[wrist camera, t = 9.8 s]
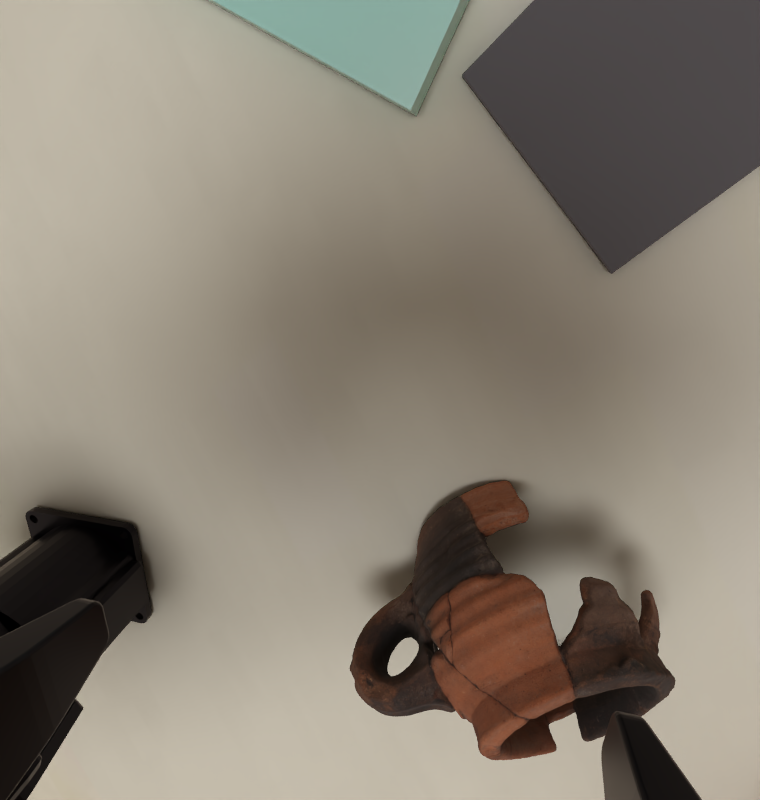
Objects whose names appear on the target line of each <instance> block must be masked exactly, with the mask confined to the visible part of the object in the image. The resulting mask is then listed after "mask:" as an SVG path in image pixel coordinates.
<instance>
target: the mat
mask: <svg viewBox="0 0 760 800" xmlns="http://www.w3.org/2000/svg"><path fill="white" fill-rule="evenodd" d="M462 77H463V79H464V80H465V81H466V83H467V84H468V85H469V87H470V88H471V89H472V91H473V92H474V93H475V95H476V96H477V97H478V99H479V100H480V101H481V102H482V104H483V105H484V106H485V108H486V109H487V110H488V112H489V113H490V114H491V116H492V117H493V118H494V120H495V121H496V122H497V124H498V125H499V126H500V128H501V129H502V130H503V132H504V133H505V134H506V136H507V137H508V138H509V140H510V141H511V142H512V144H513V145H514V146H515V148H516V149H517V150H518V152H519V153H520V154H521V156H522V157H523V158H524V159H525V161H526V162H527V163H528V165H529V166H530V167H531V169H532V170H533V171H534V173H535V174H536V175H537V177H538V178H539V179H540V181H541V182H542V183H543V185H544V186H545V187H546V189H547V190H548V191H549V193H550V194H551V195H552V197H553V198H554V199H555V201H556V202H557V203H558V205H559V206H560V207H561V209H562V210H563V211H564V213H565V214H566V215H567V216H568V218H569V219H570V220H571V222H572V223H573V224H574V226H575V227H576V228H577V230H578V231H579V232H580V234H581V235H582V236H583V238H584V239H585V240H586V242H587V243H588V244H589V246H590V247H591V248H592V250H593V251H594V252H595V254H596V255H597V256H598V258H599V259H600V260H601V262H602V263H603V264H604V266H605V267H606V268H607V269H608V271H609V272H610V273H613V272H615V271H616V270H617V269H619V268H620V267H621V266H623V265H624V264H626V263H627V262H628V261H630V260H631V259H632V258H634V257H635V256H637V255H638V254H639V253H641V252H642V251H643V250H645V249H646V248H648V247H649V246H650V245H652V244H653V243H654V242H656V241H657V240H659V239H660V238H661V237H663V236H664V235H665V234H667V233H668V232H669V231H671V230H672V229H674V228H675V227H676V226H678V225H679V224H680V223H682V222H683V221H685V220H686V219H687V218H689V217H690V216H691V215H693V214H694V213H696V212H697V211H698V210H700V209H701V208H702V207H704V206H705V205H707V204H708V203H709V202H711V201H712V200H713V199H715V198H716V197H718V196H719V195H720V194H722V193H723V192H724V191H726V190H727V189H729V188H730V187H731V186H733V185H734V184H735V183H737V182H738V181H739V180H741V179H742V178H744V177H745V176H746V175H748V174H749V173H750V172H752V171H753V170H755V169H756V168H757V167H759V166H760V0H534V1H533V2H532V3H531V4H530V5H529V6H528V7H527V8H526V9H525V10H524V11H523V12H522V13H521V14H520V15H519V17H518V18H517V19H516V20H515V21H514V22H513V23H512V24H511V25H510V26H509V27H508V28H507V29H506V30H505V31H504V32H503V33H502V34H501V35H500V36H499V37H498V38H497V39H496V40H495V41H494V42H493V43H492V44H491V45H490V46H489V48H488V49H487V50H486V51H485V52H484V53H483V54H482V55H481V56H480V57H479V58H478V59H477V60H476V61H475V62H474V63H473V64H472V65H471V66H470V67H469V68H468V69H467V70H466V71H465V72H464V73H463V74H462Z"/></svg>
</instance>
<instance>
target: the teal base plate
mask: <svg viewBox="0 0 760 800" xmlns="http://www.w3.org/2000/svg"><path fill="white" fill-rule="evenodd" d="M208 1H210V2H212V3H213V4H215V5H217V6H219V7H221V8H222V9H224V10H226V11H228V12H230V13H231V14H233V15H235V16H237V17H239V18H240V19H242V20H244V21H246V22H248V23H249V24H251V25H253V26H255V27H257V28H258V29H260V30H262V31H264V32H266V33H267V34H269V35H271V36H273V37H275V38H276V39H278V40H280V41H282V42H284V43H285V44H287V45H289V46H291V47H293V48H294V49H296V50H298V51H300V52H302V53H303V54H305V55H307V56H309V57H311V58H312V59H314V60H316V61H318V62H320V63H321V64H323V65H325V66H327V67H329V68H330V69H332V70H334V71H336V72H338V73H339V74H341V75H343V76H345V77H347V78H348V79H350V80H352V81H354V82H356V83H357V84H359V85H361V86H363V87H365V88H366V89H368V90H370V91H372V92H374V93H375V94H377V95H379V96H381V97H383V98H384V99H386V100H388V101H390V102H392V103H393V104H395V105H397V106H399V107H401V108H402V109H404V110H406V111H408V112H410V113H411V114H413V115H415V116H417V114H418V111H419V109H420V107H421V105H422V103H423V101H424V98H425V96H426V94H427V92H428V90H429V87H430V85H431V83H432V81H433V79H434V77H435V74H436V72H437V70H438V68H439V66H440V63H441V61H442V59H443V57H444V55H445V53H446V50H447V48H448V46H449V44H450V42H451V39H452V37H453V35H454V33H455V31H456V28H457V26H458V24H459V22H460V20H461V18H462V15H463V13H464V11H465V9H466V7H467V4H468V2H469V0H208Z"/></svg>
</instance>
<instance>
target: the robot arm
mask: <svg viewBox="0 0 760 800" xmlns="http://www.w3.org/2000/svg"><path fill="white" fill-rule="evenodd" d="M26 520H27V524H28V527H29V531H30V534H31V538H30V539H29V540H27V541H26V542H25V543H23V544H22V545H20V546H19V547H18V548H16V549H15V550H14V551H12V552H11V553H9V554H8V555H7V556H5V557H4V558H3V559H1V560H0V800H27V798H28V797H29V795H30V794H31V792H32V791H33V789H34V788H35V786H36V784H37V783H38V781H39V780H40V778H41V776H42V775H43V773H44V771H45V770H46V768H47V767H48V765H49V763H50V762H51V760H52V758H53V757H54V755H55V754H56V752H57V750H58V749H59V747H60V745H61V744H62V742H63V741H64V739H65V737H66V736H67V734H68V733H69V731H70V729H71V728H72V726H73V724H74V723H75V721H76V720H77V718H78V716H79V715H80V713H81V711H82V710H83V706H82V705H81V704H80V703H79V702H78V701H77V700H76V699H75V698H76V696H77V695H78V693H79V691H80V690H81V688H82V686H83V685H84V683H85V681H86V680H87V678H88V676H89V675H90V673H91V671H92V670H93V668H94V666H95V665H96V663H97V661H98V660H99V658H100V656H101V655H102V653H103V652H104V651H105V650H106V649H107V647H108V646H109V645H110V644H111V643H112V642H113V641H114V639H115V638H116V637H117V636H118V635H119V634H120V633H121V631H122V630H123V629H124V628H125V627H126V626H127V625H128V623H129V622H130V621H134V622H138V623H145V622H146V621H147V620H148V619H149V618H150V616H151V615H152V612H151V606H150V601H149V595H148V590H147V584H146V579H145V573H144V568H143V562H142V557H141V551H140V546H139V540H138V535H137V531H136V529H135V527H134V526H133V525H131V524H129V523H126V522H120V521H114V520H108V519H103V518H97V517H91V516H85V515H80V514H74V513H68V512H63V511H57V510H51V509H45V508H40V507H35V508H33V509H31V510H30V511H28V512H27V513H26ZM602 771H603V782H604V793H605V800H702V799H701V798H700V796H699V795H698V794H697V792H696V791H695V789H694V788H693V787H692V785H691V784H690V782H689V781H688V780H687V778H686V777H685V775H684V774H683V772H682V771H681V770H680V768H679V767H678V765H677V764H676V763H675V761H674V760H673V758H672V757H671V756H670V754H669V753H668V751H667V750H666V749H665V747H664V746H663V744H662V743H661V741H660V740H659V739H658V737H657V736H656V734H655V733H654V732H653V730H652V729H651V727H650V726H649V725H648V723H647V722H646V721H645V720H644V719H643V718H642V717H640V716H638V715H633V714H629V713H624V712H619V711H616V712H614V713H613V714H612V716H611V718H610V722H609V725H608V728H607V732H606V735H605V739H604V742H603V746H602Z"/></svg>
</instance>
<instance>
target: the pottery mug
mask: <svg viewBox="0 0 760 800" xmlns="http://www.w3.org/2000/svg"><path fill="white" fill-rule="evenodd" d="M528 517H529V513H528V510H527V507H526V506H525V504H524V502H523V501H522V500H520V499H519V497H518V495H517V493H516V491H515V490H514V488H513V487H512V485H511V483H510V482H509V481H499V482H493V483H488V484H486V485H483V486H480V487H476V488H474V489H472V490H471V491H469V492H466V493H464V494H463V495H461V496H459V497H456V498H454V499H453V500H451V501H450V502H448V503H447V504H446V505H444V506H442V507H440V508H439V509H437V511H436V512H435V513H434V514H433V515H432V516H431V517H430V518H429V519H428V520H427V521H426V523H425V524H424V525H423V527H422V529H421V532H420V536H419V539H418V545H417V557H416V562H415V569H414V577H413V580H412V583H410V584H409V585H408V587H407V588H406V590H405V591H404V592H403V593H402V594H401V595H400V596H399V597H397V598H396V599H394V600H392V601H391V602H389V603H388V604H387V605H385V606H384V607H383V608H381V609H380V610H379V611H378V612H377V613H376V614H375V615H374V616H373V617H372V618H371V619H370V620H369V621H368V623H367V624H366V625H365V627H364V628H363V630H362V632H361V634H360V635H359V638H358V640H357V642H356V645H355V648H354V652H353V656H352V657H353V659H352V662H351V665H350V671H351V672H352V675H353V677H354V679H355V688H356V691H357V693H358V694H359V696H360V697H361V698H362V699H363V700H364V701H365V702H366V703H367V704H368V705H369V706H371V707H372V708H374V709H375V710H376V711H378V712H380V713H382V714H384V715H388V716H408V715H413V714H416V713H419V712H423V711H427V710H433V709H437V710H443V711H447V712H454V711H457V713H458V714H459V715H460V717H461V718H462V719H467V720H468V721H469V722H471V723H472V724H473V727H474V730H475V733H476V736H477V740H478V748H479V751H480V753H481V754H482V755H483V756H486V757H487V758H489V759H491V760H512V759H521V758H527V757H531V756H537V755H542V754H547V753H551V752H554V751H556V744H555V742H554V740H553V738H552V735H551V733H550V729H549V724H550V723H552V722H554V721H557V720H560V719H563V718H565V717H566V716H569V715H571V714H572V713H574V712H576V714H577V719H578V725H579V728H580V732H581V736H582V739H583V740H584V741H592V740H595V739H597V738H600V737H603V736H605V735H606V732H607V728H608V725H609V722H610V718H611V716H612V714H613V713H614V712H616V711H619V712H624V713H629V714H633V715H638V716H640V717H641V716H642V715H644V714H645V713H647V712H648V711H649V710H650V709H652V708H653V707H654V706H656V704H658V703H659V702H661V701H662V700H663V699H664V698H665V697H667V696H668V695H669V693H670V691H671V690H672V689H673V688H674V685H675V678H674V677H673V676H672V674H671V673H670V671H669V670H668V669H666V667H665V666H664V664H663V662H662V661H661V659H660V658H659V656H658V652H659V649H658V643H659V638H660V631H659V616H658V610H657V607H656V604H655V601H654V598H653V595H652V593H651V592H650V591H649V590H645V591H643V592H642V593H641V605H642V609H641V616H640V619H639V623H638V620H637V619H636V618H635V615H634V613H633V611H632V610H631V609H630V608H629V606H628V605H626V604H625V603H624V602H623V601H622V600H621V599H620V598H619V596H618V593H617V591H616V589H615V587H614V586H613V585H612V584H610V583H609V582H606V581H603V580H600V579H596V578H593V577H585V578H583V579H581V581H580V592H581V597H582V600H583V605H582V606H581V608H580V609H579V613H578V617H577V619H576V622H575V624H574V626H573V628H572V630H571V632H570V633H569V634H568V636H567V637H566V639H565V641H564V642H563V643H562V645H561V646H558V644H557V640H556V636H555V633H554V630H553V628H552V624H551V620H550V617H549V613H548V609H547V605H546V599H545V595H544V593H543V591H542V590H540V589H539V588H538V587H537V586H536V584H535V583H534V582H533V581H532V580H530V579H528V578H527V577H526V576H523V575H518V574H512V573H510V574H505V573H504V572H503V569H502V567H501V565H500V563H499V562H498V561H497V560H496V559H495V557H494V556H493V554H492V553H491V551H490V550H489V548H488V546H487V543H486V539H485V538H486V537H487V536H489V535H492V534H493V533H495V532H496V531H498V530H502V529H504V528H507V527H510V526H513V525H516V524H520V523H524V522H526V521H527V520H528ZM409 637H412V638H413V639H415V640H416V641H417V643H418V644H419V651H418V653H417V656H416V657H415V659H414V660H413V662H412V663H411V664H410V666H409V667H407V668H406V669H405V670H404V671H403V672H401V673H400V674H398V675H396V676H390V675H389V674H388V671H387V666H388V662H389V658H390V655H391V653H392V652H393V650H394V649H395V647H396V646H397V645H398V643H399V642H400V641H401V640H403V639H404V638H409ZM438 648H439V650H438Z"/></svg>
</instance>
